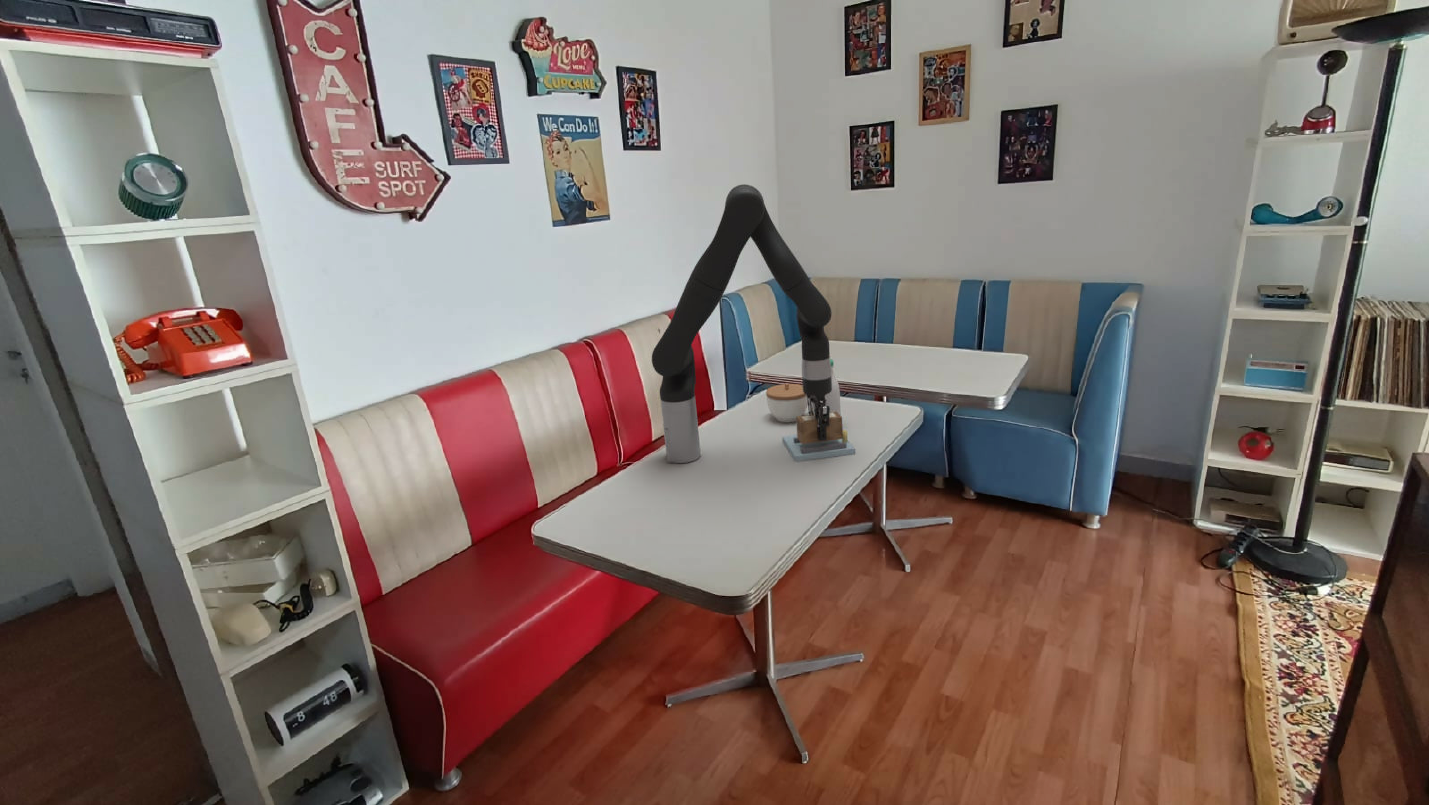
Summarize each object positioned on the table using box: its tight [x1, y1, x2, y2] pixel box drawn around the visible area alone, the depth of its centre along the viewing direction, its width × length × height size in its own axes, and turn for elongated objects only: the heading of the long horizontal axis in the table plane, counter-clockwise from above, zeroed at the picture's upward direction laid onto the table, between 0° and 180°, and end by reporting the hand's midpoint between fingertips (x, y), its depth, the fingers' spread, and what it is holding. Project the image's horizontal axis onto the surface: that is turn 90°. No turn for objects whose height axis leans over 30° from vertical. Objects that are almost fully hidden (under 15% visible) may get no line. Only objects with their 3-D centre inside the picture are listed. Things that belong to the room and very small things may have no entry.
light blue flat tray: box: [781, 429, 856, 463], centre depth 187 cm, size 16×15×4 cm
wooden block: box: [795, 412, 843, 444], centre depth 184 cm, size 11×5×6 cm, turn 97°
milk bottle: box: [825, 358, 842, 417], centre depth 199 cm, size 8×8×20 cm
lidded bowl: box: [765, 382, 808, 423], centre depth 210 cm, size 13×13×11 cm
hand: (819, 435), depth 185 cm, fingers closed on wooden block, 5 cm apart
